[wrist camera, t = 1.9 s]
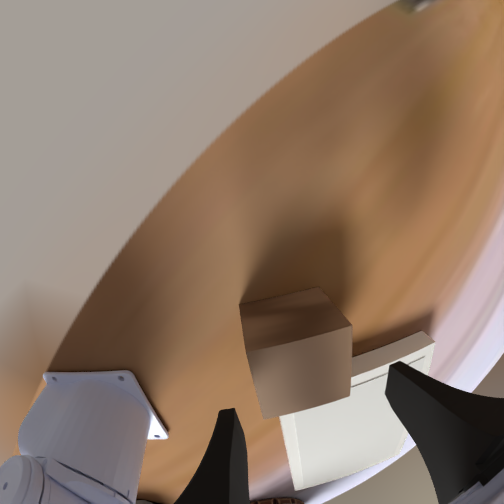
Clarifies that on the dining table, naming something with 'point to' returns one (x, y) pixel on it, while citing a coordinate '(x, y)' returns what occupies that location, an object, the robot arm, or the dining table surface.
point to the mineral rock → (143, 502)
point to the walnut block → (297, 351)
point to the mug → (278, 501)
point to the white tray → (353, 419)
